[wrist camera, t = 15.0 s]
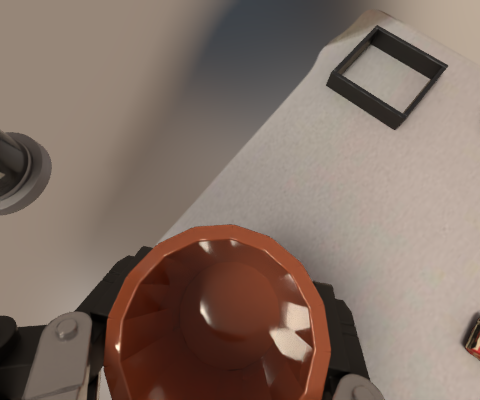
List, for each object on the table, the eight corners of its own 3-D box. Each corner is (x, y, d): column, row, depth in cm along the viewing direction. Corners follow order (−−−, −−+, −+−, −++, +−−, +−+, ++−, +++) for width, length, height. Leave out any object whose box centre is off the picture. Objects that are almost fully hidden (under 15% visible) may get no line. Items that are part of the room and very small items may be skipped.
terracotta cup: (150, 316, 15) (57, 345, 8) (226, 233, 17) (211, 187, 9) (234, 406, 14) (223, 550, 6) (309, 306, 15) (374, 324, 8)
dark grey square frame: (325, 85, 39) (331, 72, 37) (369, 39, 42) (377, 24, 40) (394, 130, 37) (404, 119, 34) (436, 78, 39) (448, 65, 37)
